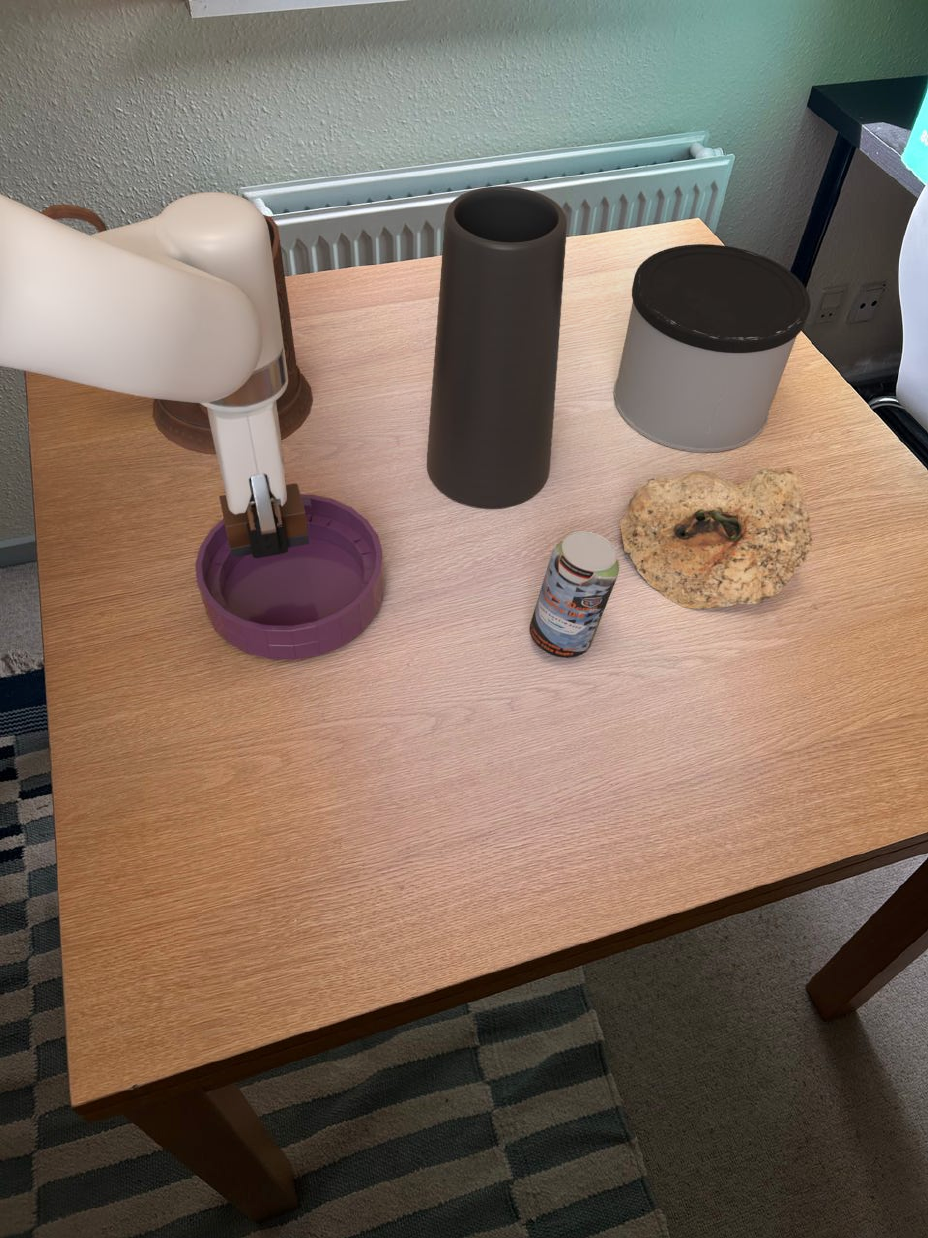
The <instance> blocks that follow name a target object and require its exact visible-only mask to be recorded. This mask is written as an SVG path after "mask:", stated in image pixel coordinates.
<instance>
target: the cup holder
mask: <svg viewBox="0 0 928 1238" xmlns="http://www.w3.org/2000/svg"><path fill="white" fill-rule="evenodd" d="M39 213H41V214H43V215H45V216H47V217H49V218H51V219H53V220H60V219H62V220H63V219H71V220H72V219H73V220H80V221H83V222H87V223H88V224H90V225H91V226H93V227H94V228H96V230H97V231H98V233H100V232H103V231H107V230H108V229H107V225H106V223H105V222H104V221H103V219H102V218H101V217H100V216H99V215H98V214H97V213H95V212H94V211H93V210H91V209H89V208H87V207H84V206H80V205H75V204H73V205H72V204H54V205H48V207H46V208H45V209H43V210H41V211H39ZM263 216H264V218H265V220H266V223H267V225H268V230H269V235H270V242H271V250H272V258H273V266H274V274H275V282H276V290H277V297H278V305H279V313H280V321H281V328H282V336H283V343H284V351H285V359H286V366H287V374H288V385H287V388H286V390H285V392H284V393H283V394H282V396H280V397H279V398H278V399H277V400H276V405H277V412H278V419H279V427H280V434H281V441H282V440H284V439H287V438H288V437H289V436H290V435H292V434H293V433H294V432H295V431H296V430H298V429H299V428H300V427H302V425H303V423H304V422H305V421H306V419H307V418H308V416H309V415H310V413H311V409H312V405H313V402H314V398H313V397H314V396H313V391H312V387H311V385H310V383H309V382H308V381H307V378H306V377H305V375H303V373H301V370H300V368H299V367H298V365H297V358H296V357H297V356H296V350H295V342H294V336H293V328H292V320H291V313H290V305H289V299H288V298H289V297H288V289H287V282H286V275H285V268H284V261H283V260H284V259H283V252H282V245H281V237H280V232H279V226H278V224H277V223H276V222H275V220H274V219H273V218H272V216H270V215H265V214H263ZM152 418H153V421H154V423H155V425H156V427H157V429H158V431H160V432H161V434H163V435H164V437H166V439H168V440H169V441H171V442H172V443H174V444H176V445H178V446H180V447H181V448H184V449H186V450H190V451H194V452H198V453H202V454H207V455H209V454H210V455H217V454H216V450H215V445H214V441H213V436H212V431H211V427H210V422H209V416H208V410H207V407H205V406H203V405H202V404H200V403H192V402H182V401H173V400H165V399H154V398H153V401H152Z"/></svg>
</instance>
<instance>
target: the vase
mask: <svg viewBox="0 0 928 1238" xmlns="http://www.w3.org/2000/svg"><path fill="white" fill-rule="evenodd" d="M567 228H568V219H567V216H566V213H565V211H564V209H563V208H562V207H561V206H560V204H558V203H557V202H556V201H554V200H553V199H552V198H550V197H548V196H546V195H544V194H543V193H540V192H537V191H534V190H531V189H527V188H523V187H517V186H507V185H501V186H500V185H499V186H498V185H497V186H485V187H480V188H475V189H472V190H470V191H468V192H467V191H466V192H464V193H462V194H460V195H459V196H457V197H456V198H455V199H453V200H452V201H451V202H450V204H449V205H448V206H447V208H446V211H445V216H444V227H443V239H442V253H441V265H440V279H439V292H438V305H437V316H436V329H435V330H436V331H435V333H436V334H435V345H434V357H433V370H432V379H431V380H432V381H431V382H432V386H431V397H430V409H429V422H428V423H429V425H428V434H427V452H426V470H427V475H428V477H429V479H430V481H431V482H432V484H433V485H434V487H435V488H436V489H437V490H438V491H439V492H441V494H443V496H446V497H447V498H449V499H450V500H452V501H455V502H456V503H459V504H461V505H464V506H468V507H472V508H476V509H485V510H486V509H487V510H490V509H491V510H498V509H506V508H510V507H514V506H517V505H521V504H523V503H525V502H527V501H529V500H531V499H532V498H534V497H535V496H536V495H538V494H539V493H540V491H541V490H542V489H543V488H544V487H545V485H546V483H547V481H548V478H549V476H550V468H551V456H552V443H553V441H552V440H553V430H554V419H555V418H554V417H555V401H556V391H557V390H556V389H557V386H556V385H557V373H558V372H557V371H558V359H559V348H560V347H559V346H560V345H559V344H560V330H561V317H562V303H563V292H564V291H563V288H564V272H565V258H566V244H567Z"/></svg>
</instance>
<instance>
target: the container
mask: <svg viewBox="0 0 928 1238" xmlns="http://www.w3.org/2000/svg"><path fill="white" fill-rule="evenodd" d="M631 300H632V304H631V307H630V308H631V309H630V314H629V318H628V324H627V329H626V333H625V339H624V344H623V348H622V353H621V357H620V358H621V359H620V363H619V367H618V368H619V369H618V374H617V377H616V380H615V383H614V386H613V401H614V406H615V407H616V410H617V411H618V413H619V415H620V416H621V418H622V419H623V420H624V421H625V422H626V424H628V425H629V426H630V427H631V428H632V429H633V430H634V431H636V432H637V433H639V434H640V435H642V436H643V437H645V438H647V439H648V440H650V441H652V442H655V443H657V444H659V445H662V446H664V447H668V448H670V449H671V448H672V449H675V450H678V451H679V450H680V451H685V452H690V453H691V452H692V453H718V452H719V453H720V452H726V451H730V450H735V449H737V448H740V447H742V446H745V445H747V444H748V443H751V442H752V441H753V440H755V439H756V438H757V437H758V436H759V435H760V434H761V433H762V432H763V430H764V428H765V427H766V425H767V422H768V420H769V415H770V410H771V407H772V405H773V402H774V399H775V396H776V393H777V391H778V388H779V386H780V383H781V380H782V377H783V374H784V372H785V370H786V367H787V364H788V361H789V358H790V355H791V353H792V351H793V348H794V345H795V342H796V339H797V337H798V335H799V334H800V333H801V332H802V330H803V329H804V327H805V325H806V322H807V320H808V317H809V315H810V312H811V298H810V294H809V292H808V290H807V288H806V286H805V285H804V284H803V283H802V281H801V280H800V279H799V278H798V276H796V275H795V274H794V273H793V272H792V271H790V270H789V269H788V268H786V267H785V266H783V265H782V264H780V263H778V262H776V261H775V260H773V259H770V258H769V257H767V256H764V255H761V254H759V253H757V252H753V251H750V250H746V249H743V248H740V247H739V248H738V247H735V246H729V245H721V244H709V243H695V244H684V245H683V244H682V245H677V246H673V247H669V248H666V249H663V250H660V251H657V252H656V253H653V254H652V255H650V256H649V257H647V258H646V259H645V260H644V261H642V263H641V264H640V265H639V266H638V267H637V269H636V272H635V273H634V276H633V282H632V286H631Z"/></svg>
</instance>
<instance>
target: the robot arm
mask: <svg viewBox="0 0 928 1238" xmlns="http://www.w3.org/2000/svg"><path fill="white" fill-rule="evenodd" d="M263 215H264V213H263V212H262V211H261V210H260V208H259V207H258V206H257V205H255V203H253V202H252V201H250V200H249V199H246V198H245V197H242V196H240V195H238V194H235V193H234V194H233V193H228V192H222V191H207V192H205V191H204V192H196V193H193V194H188V195H185V196H182V197H180V198H178V199H176V200H173V201H172V202H171V203H169V204H168V205H167V206H165V208H164V209H163V210H162V211H161V213H160V214H159V215H156V216H154V217H151V218H147V219H145V220H141V221H138V222H135V223H131V224H127V225H123V226H120V227H115V228H111V229H107V231H103V232H97V233H93V234H90V235H89V234H87V233H84V232H82V231H79V230H77V229H75V228H74V227H71V226H68V225H67V224H64V223H63V222H60V221H58V220H57V219H51V218H49V217H47V216H45V215H43V214H41V213H40V211H37V210H35V209H33V208H31V207H29V206H26V205H25V204H23V203H21V202H18V201H16V200H14V199H13V198H10V197H7V196H5V195H4V194H2V193H0V367H3V368H9V369H14V370H19V371H23V372H29V373H33V374H38V375H43V376H47V377H51V378H56V379H60V380H65V381H69V382H73V383H77V384H81V385H85V386H90V387H93V388H98V389H102V390H106V391H110V392H111V391H112V392H115V393H120V394H125V395H130V396H135V397H140V398H141V397H142V398H148V399H153V400H154V399H165V400H173V401H182V402H192V403H200V404H202V405H203V406H205V407H207V410H208V416H209V422H210V427H211V431H212V436H213V441H214V445H215V450H216V454H215V455H216V458H217V463H218V467H219V471H220V476H221V481H222V485H223V490H224V495H226V499H227V503H228V508H229V510H230V511H231V512H232V513H233V514H235V515H236V514H240V513H245V512H246V510H247V514H248V519H249V523H246V525H247V530H248V535H249V540H250V545H251V550H252V555H253V557H254V558H261V557H267V556H272V555H278V554H283V553H286V552H288V543H287V537H286V531H285V524H284V519H283V517H281V514H280V508H279V504H281V507H282V506H283V505H284V504H285V503H286V501H287V492H286V485H287V483H286V482H287V481H286V471H285V460H284V459H285V458H284V451H283V443H282V442H283V441H282V440H281V434H280V427H279V419H278V412H277V405H276V400H277V399H278V398H279V397H280V396H282V394H283V393H284V392H285V390H286V388H287V385H288V374H287V366H286V359H285V351H284V343H283V336H282V328H281V321H280V313H279V305H278V297H277V290H276V282H275V274H274V266H273V258H272V250H271V242H270V235H269V230H268V225H267V223H266V220H265V218H264V216H263ZM269 491H271V492H269ZM252 494H254V495H252ZM271 504H272V506H273V511H272V506H271ZM253 507H256V509H257V514H258V516H255V518H254V513H253ZM273 512H274V513H273Z"/></svg>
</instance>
